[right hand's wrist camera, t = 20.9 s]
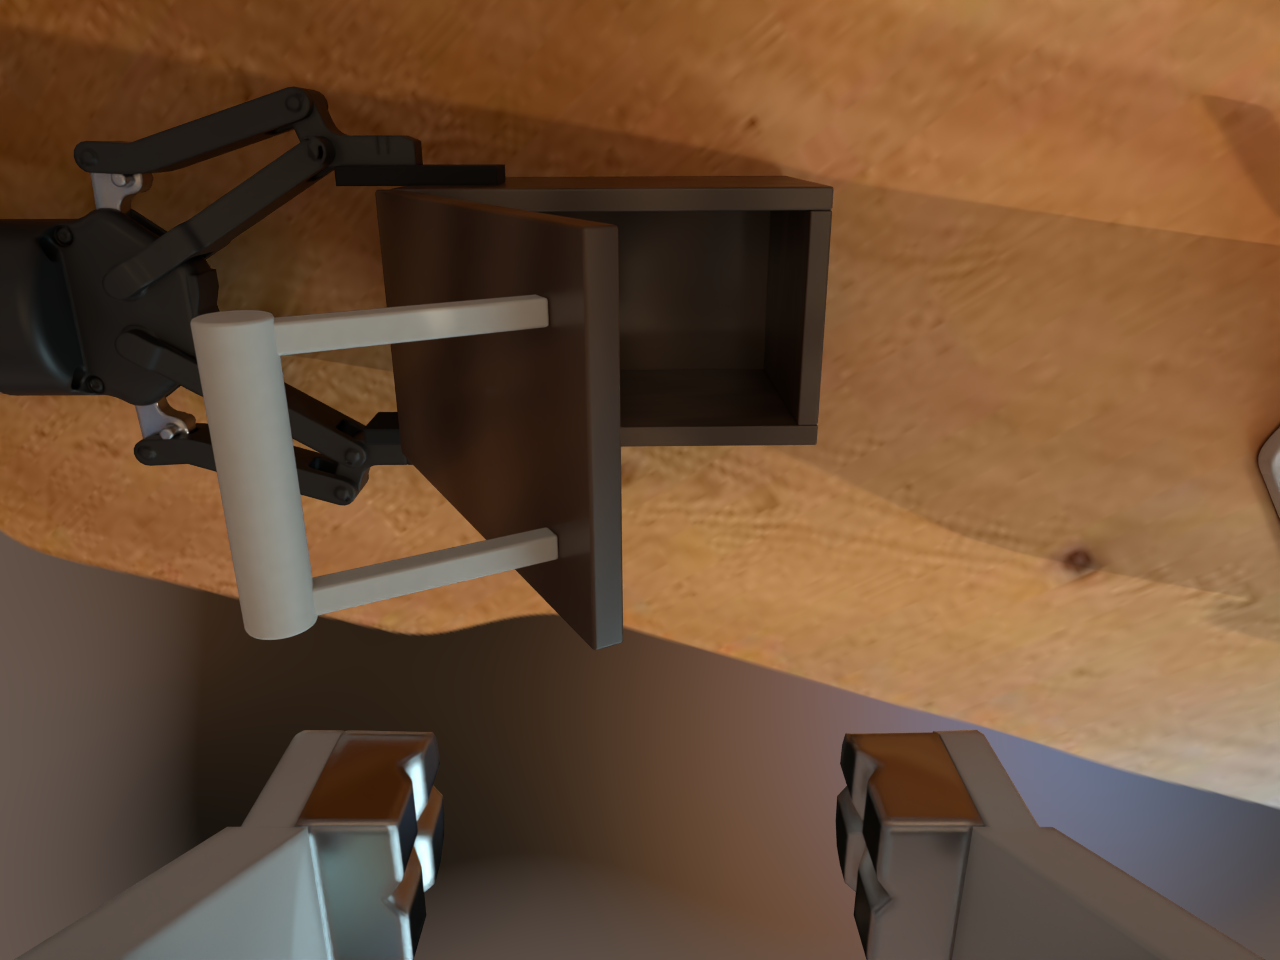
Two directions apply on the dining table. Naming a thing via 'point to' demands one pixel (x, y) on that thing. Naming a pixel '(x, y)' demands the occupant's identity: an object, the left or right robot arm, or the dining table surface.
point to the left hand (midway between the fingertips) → (508, 307)
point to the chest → (704, 298)
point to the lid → (445, 414)
